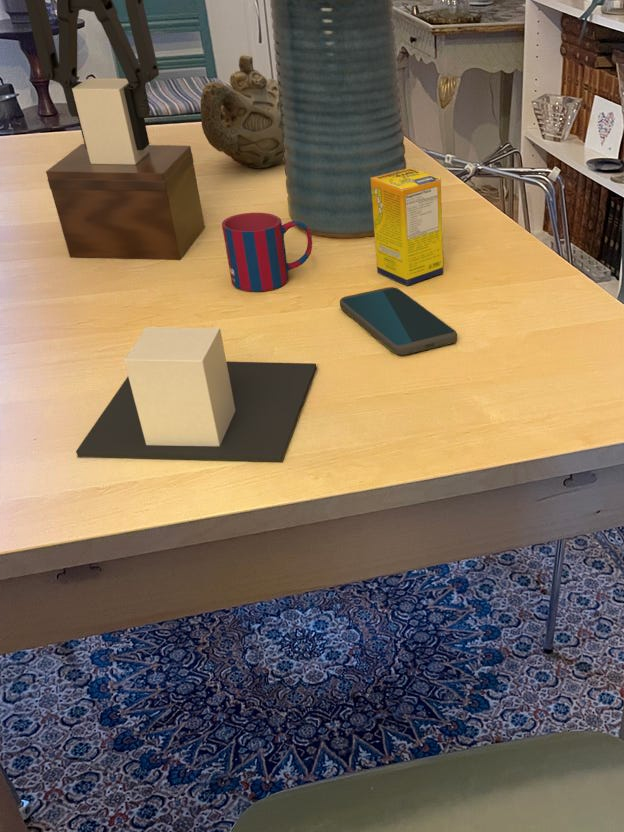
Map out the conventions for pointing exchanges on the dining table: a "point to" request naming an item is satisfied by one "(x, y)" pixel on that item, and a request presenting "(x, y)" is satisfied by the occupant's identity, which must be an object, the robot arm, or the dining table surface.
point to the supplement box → (407, 225)
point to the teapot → (244, 117)
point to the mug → (259, 251)
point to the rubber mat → (247, 432)
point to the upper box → (181, 386)
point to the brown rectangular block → (128, 204)
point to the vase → (337, 109)
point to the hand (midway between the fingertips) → (117, 146)
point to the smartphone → (398, 320)
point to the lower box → (106, 122)
